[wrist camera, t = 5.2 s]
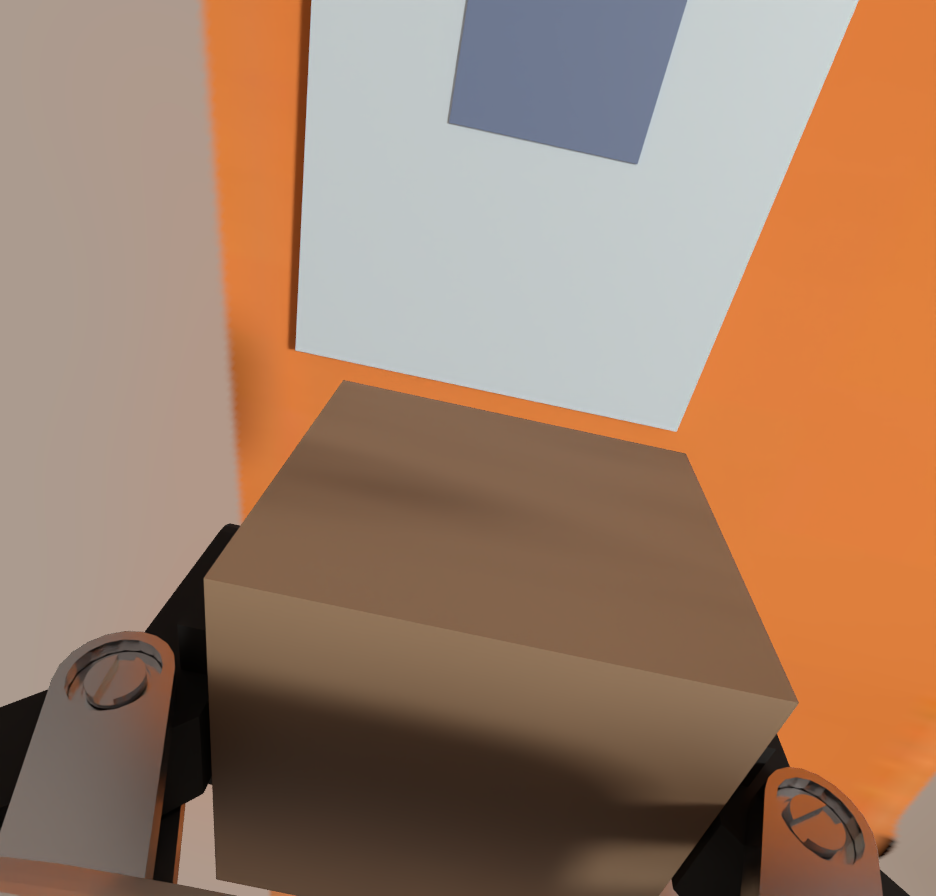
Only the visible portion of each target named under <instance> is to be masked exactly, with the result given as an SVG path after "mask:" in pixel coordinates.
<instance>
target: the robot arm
mask: <svg viewBox="0 0 936 896" xmlns="http://www.w3.org/2000/svg"><path fill="white" fill-rule="evenodd" d="M239 527H240V526H239V525H234V524H227V525H225V526H224V527H223V528H222V529H221V530H220V532H219V533H218V534H217V536H216V537H215V538H214V540H213V541H212V542H211V544H210V545H209V546H208V548H207V549H206V551H205V552H204V553H203V555H202V556H201V557H200V559H199V560H198V561H197V562H196V564H195V565H194V567H193V568H192V569H191V571H190V572H189V573H188V575H187V576H186V577H185V579H184V580H183V581H182V583H181V584H180V585H179V587H178V588H177V589H176V591H175V592H174V593H173V595H172V596H171V598H170V599H169V600H168V601H167V603H166V604H165V606H164V607H163V608H162V609H161V611H160V612H159V613H158V615H157V616H156V618H155V619H154V620H153V622H152V623H151V624H150V626H149V627H148V628H147V630H146V631H145V632H135V631H124V632H118V633H113V634H107V635H104V636H102V637H99V638H97V639H94V640H91V641H89V642H87V643H86V644H84V645H83V646H81V647H79V648H78V649H76V650H75V651H73V652H72V653H71V654H70V655H69V656H68V657H67V658H66V659H65V660H64V661H63V662H62V663H61V664H60V665H59V667H58V669H57V671H56V673H55V674H54V676H53V678H52V680H51V683H50V686H49V689H48V690H45V691H43V692H40V693H37V694H35V695H32V696H29V697H27V698H24V699H21V700H19V701H16V702H13V703H11V704H8V705H5V706H3V707H0V896H235V895H229V894H224V893H219V892H214V891H209V890H204V889H199V888H194V887H189V886H183V885H178V884H177V880H178V870H179V861H180V851H181V841H182V832H183V822H184V811H185V803H186V802H188V801H190V800H192V799H194V798H196V797H198V796H199V795H201V794H203V793H204V791H205V789H206V787H207V785H208V784H211V785H212V765H211V741H210V717H209V693H208V670H207V646H206V622H205V598H204V577H205V576H206V574H207V573H208V571H209V570H210V568H211V567H212V566H213V564H214V563H215V561H216V560H217V559H218V557H219V556H220V554H221V553H222V551H223V550H224V549H225V547H226V546H227V544H228V543H229V542H230V540H231V539H232V537H233V536H234V534H235V533H236V532H237V530H238V529H239ZM659 896H910V895H908V894H907V893H906V892H905V891H904V890H903V889H902V888H900V887H899V886H898V885H897V884H896V883H895V882H894V881H892V880H891V879H890V878H889V877H888V876H887V875H886V874H884V873H883V872H882V871H881V870H880V867H879V859H878V850H877V846H876V843H875V839H874V835H873V832H872V831H871V829H870V827H869V825H868V823H867V821H866V820H865V818H864V816H863V815H862V813H861V812H860V811H859V810H858V808H857V807H856V806H855V805H854V804H853V802H852V801H851V800H850V799H849V798H848V797H847V796H846V795H845V794H844V793H842V792H841V791H840V790H839V789H838V788H837V787H836V786H835V785H833V784H831V783H830V782H828V781H827V780H825V779H824V778H822V777H820V776H819V775H817V774H814V773H812V772H809V771H807V770H804V769H800V768H792V767H790V766H789V764H788V761H787V758H786V756H785V753H784V751H783V748H782V746H781V743H780V741H779V738H778V736H777V734H776V735H775V737H774V738H773V739H772V741H771V742H770V743H769V745H768V746H767V748H766V749H765V750H764V752H763V753H762V754H761V756H760V757H759V759H758V760H757V761H756V763H755V764H754V765H753V767H752V768H751V770H750V771H749V772H748V774H747V775H746V777H745V778H744V779H743V781H742V782H741V783H740V785H739V786H738V788H737V789H736V790H735V792H734V793H733V794H732V796H731V797H730V799H729V800H728V801H727V803H726V804H725V805H724V807H723V808H722V810H721V811H720V812H719V814H718V815H717V817H716V818H715V819H714V821H713V822H712V823H711V825H710V826H709V828H708V829H707V830H706V832H705V833H704V834H703V836H702V837H701V839H700V840H699V841H698V843H697V844H696V845H695V847H694V848H693V850H692V851H691V852H690V854H689V855H688V857H687V858H686V859H685V861H684V862H683V863H682V865H681V866H680V868H679V869H678V870H677V872H676V873H675V874H674V876H673V877H672V879H671V880H670V881H669V883H668V884H667V886H666V887H665V888H664V890H663V891H662V892H661V894H660V895H659Z"/></svg>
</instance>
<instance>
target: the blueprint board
mask: <svg viewBox="0 0 936 896" xmlns="http://www.w3.org/2000/svg"><path fill="white" fill-rule="evenodd" d="M858 1H859V0H311V22H310V44H309V65H308V87H307V109H306V130H305V152H304V174H303V195H302V217H301V239H300V261H299V282H298V304H297V326H296V347H295V350H296V351H301V352H306V353H310V354H315V355H320V356H324V357H329V358H334V359H338V360H343V361H348V362H352V363H357V364H362V365H366V366H371V367H376V368H380V369H385V370H390V371H395V372H399V373H404V374H409V375H413V376H418V377H423V378H427V379H432V380H437V381H441V382H446V383H451V384H455V385H460V386H465V387H470V388H474V389H479V390H484V391H488V392H493V393H498V394H502V395H507V396H512V397H516V398H521V399H526V400H530V401H535V402H540V403H544V404H549V405H554V406H559V407H563V408H568V409H573V410H577V411H582V412H587V413H591V414H596V415H601V416H605V417H610V418H615V419H619V420H624V421H629V422H633V423H638V424H643V425H648V426H652V427H657V428H662V429H666V430H671V431H676V432H677V429H678V427H679V425H680V422H681V420H682V418H683V415H684V413H685V410H686V408H687V406H688V403H689V401H690V399H691V396H692V394H693V391H694V389H695V387H696V384H697V382H698V380H699V377H700V375H701V373H702V370H703V368H704V365H705V363H706V361H707V358H708V356H709V354H710V351H711V349H712V346H713V344H714V342H715V339H716V337H717V335H718V332H719V330H720V328H721V325H722V323H723V320H724V318H725V316H726V313H727V311H728V309H729V306H730V304H731V301H732V299H733V297H734V294H735V292H736V290H737V287H738V285H739V283H740V280H741V278H742V275H743V273H744V271H745V268H746V266H747V264H748V261H749V259H750V256H751V254H752V252H753V249H754V247H755V245H756V242H757V240H758V238H759V235H760V233H761V230H762V228H763V226H764V223H765V221H766V219H767V216H768V214H769V211H770V209H771V207H772V204H773V202H774V200H775V197H776V195H777V192H778V190H779V188H780V185H781V183H782V181H783V178H784V176H785V174H786V171H787V169H788V166H789V164H790V162H791V159H792V157H793V155H794V152H795V150H796V147H797V145H798V143H799V140H800V138H801V136H802V133H803V131H804V129H805V126H806V124H807V121H808V119H809V117H810V114H811V112H812V110H813V107H814V105H815V102H816V100H817V98H818V95H819V93H820V91H821V88H822V86H823V84H824V81H825V79H826V76H827V74H828V72H829V69H830V67H831V65H832V62H833V60H834V57H835V55H836V53H837V50H838V48H839V46H840V43H841V41H842V39H843V36H844V34H845V31H846V29H847V27H848V24H849V22H850V20H851V17H852V15H853V12H854V10H855V8H856V5H857V3H858Z"/></svg>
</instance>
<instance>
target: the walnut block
mask: <svg viewBox="0 0 936 896" xmlns="http://www.w3.org/2000/svg"><path fill="white" fill-rule="evenodd" d="M204 598H205V622H206V646H207V670H208V693H209V717H210V741H211V765H212V786H213V787H212V788H213V810H214V811H213V812H214V834H215V835H214V836H215V858H216V879H218V880H223V881H227V882H232V883H237V884H242V885H247V886H252V887H257V888H262V889H267V890H272V891H276V892H281V893H286V894H291V895H296V896H659V895H660V894H661V892H662V891H663V890H664V888H665V887H666V886H667V884H668V883H669V881H670V880H671V879H672V877H673V876H674V874H675V873H676V872H677V870H678V869H679V868H680V866H681V865H682V863H683V862H684V861H685V859H686V858H687V857H688V855H689V854H690V852H691V851H692V850H693V848H694V847H695V845H696V844H697V843H698V841H699V840H700V839H701V837H702V836H703V834H704V833H705V832H706V830H707V829H708V828H709V826H710V825H711V823H712V822H713V821H714V819H715V818H716V817H717V815H718V814H719V812H720V811H721V810H722V808H723V807H724V805H725V804H726V803H727V801H728V800H729V799H730V797H731V796H732V794H733V793H734V792H735V790H736V789H737V788H738V786H739V785H740V783H741V782H742V781H743V779H744V778H745V777H746V775H747V774H748V772H749V771H750V770H751V768H752V767H753V765H754V764H755V763H756V761H757V760H758V759H759V757H760V756H761V754H762V753H763V752H764V750H765V749H766V748H767V746H768V745H769V743H770V742H771V741H772V739H773V738H774V737H775V735H776V734H777V732H778V731H779V730H780V728H781V727H782V725H783V724H784V723H785V721H786V720H787V719H788V717H789V716H790V714H791V713H792V712H793V710H794V709H795V708H796V706H797V705H798V703H799V702H798V700H797V698H796V696H795V694H794V691H793V689H792V687H791V685H790V682H789V680H788V678H787V676H786V674H785V671H784V669H783V667H782V665H781V663H780V660H779V658H778V656H777V654H776V652H775V649H774V647H773V645H772V643H771V641H770V638H769V636H768V634H767V632H766V630H765V627H764V625H763V623H762V621H761V619H760V616H759V614H758V612H757V610H756V607H755V605H754V603H753V601H752V599H751V596H750V594H749V592H748V590H747V588H746V585H745V583H744V581H743V579H742V577H741V574H740V572H739V570H738V568H737V566H736V563H735V561H734V559H733V557H732V555H731V552H730V550H729V548H728V546H727V544H726V541H725V539H724V537H723V535H722V533H721V530H720V528H719V526H718V524H717V521H716V519H715V517H714V515H713V513H712V510H711V508H710V506H709V504H708V502H707V499H706V497H705V495H704V493H703V491H702V488H701V486H700V484H699V482H698V480H697V477H696V475H695V473H694V471H693V469H692V466H691V464H690V462H689V460H688V458H687V455H686V454H685V453H680V452H676V451H671V450H666V449H662V448H657V447H652V446H648V445H643V444H638V443H634V442H629V441H624V440H620V439H615V438H611V437H606V436H601V435H597V434H592V433H587V432H583V431H578V430H573V429H569V428H564V427H559V426H555V425H550V424H545V423H541V422H536V421H531V420H527V419H522V418H517V417H513V416H508V415H503V414H499V413H494V412H489V411H485V410H480V409H475V408H471V407H466V406H461V405H457V404H452V403H447V402H443V401H438V400H434V399H429V398H424V397H420V396H415V395H410V394H406V393H401V392H396V391H392V390H387V389H382V388H378V387H373V386H368V385H364V384H359V383H354V382H350V381H345V380H343V382H342V383H341V384H340V386H339V387H338V389H337V390H336V392H335V393H334V394H333V396H332V397H331V399H330V400H329V401H328V403H327V404H326V406H325V407H324V409H323V410H322V411H321V413H320V414H319V416H318V417H317V418H316V420H315V421H314V423H313V424H312V425H311V427H310V428H309V430H308V431H307V433H306V434H305V435H304V437H303V438H302V440H301V441H300V442H299V444H298V445H297V447H296V448H295V450H294V451H293V452H292V454H291V455H290V457H289V458H288V459H287V461H286V462H285V464H284V465H283V467H282V468H281V469H280V471H279V472H278V474H277V475H276V476H275V478H274V479H273V481H272V482H271V484H270V485H269V486H268V488H267V489H266V491H265V492H264V493H263V495H262V496H261V498H260V499H259V501H258V502H257V503H256V505H255V506H254V508H253V509H252V510H251V512H250V513H249V515H248V516H247V518H246V519H245V520H244V522H243V523H242V525H241V526H240V527H239V529H238V530H237V532H236V533H235V534H234V536H233V537H232V539H231V540H230V542H229V543H228V544H227V546H226V547H225V549H224V550H223V551H222V553H221V554H220V556H219V557H218V559H217V560H216V561H215V563H214V564H213V566H212V567H211V568H210V570H209V571H208V573H207V574H206V576H205V577H204Z"/></svg>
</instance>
